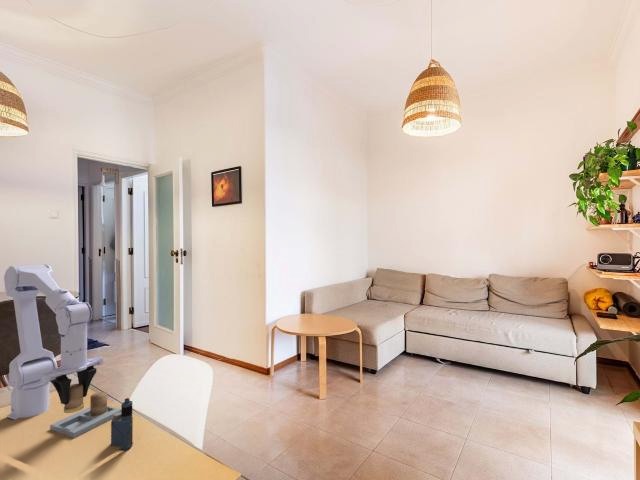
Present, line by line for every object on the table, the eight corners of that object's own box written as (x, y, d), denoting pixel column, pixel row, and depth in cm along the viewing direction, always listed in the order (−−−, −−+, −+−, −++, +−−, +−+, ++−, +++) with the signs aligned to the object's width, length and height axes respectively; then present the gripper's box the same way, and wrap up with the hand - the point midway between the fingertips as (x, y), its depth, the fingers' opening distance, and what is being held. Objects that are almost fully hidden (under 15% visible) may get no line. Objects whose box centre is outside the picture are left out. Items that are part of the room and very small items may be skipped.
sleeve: (60, 411, 88) (60, 388, 88) (77, 404, 92) (77, 382, 92) (70, 414, 86) (70, 391, 86) (87, 406, 90) (87, 384, 90)
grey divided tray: (50, 433, 88) (50, 424, 88) (98, 410, 100) (99, 403, 100) (74, 441, 84) (74, 432, 84) (121, 417, 96) (121, 409, 96)
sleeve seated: (86, 417, 94) (86, 396, 94) (101, 410, 98) (101, 390, 98) (96, 421, 92) (96, 399, 92) (111, 413, 96) (111, 392, 96)
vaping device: (127, 451, 80) (127, 402, 80) (108, 449, 81) (108, 400, 81) (135, 445, 83) (135, 397, 83) (117, 443, 84) (117, 395, 84)
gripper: (52, 359, 81) (52, 415, 81) (110, 343, 94) (110, 391, 94) (35, 355, 84) (35, 409, 84) (94, 340, 97) (93, 387, 97)
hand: (73, 399), depth 89 cm, fingers closed on sleeve, 4 cm apart
